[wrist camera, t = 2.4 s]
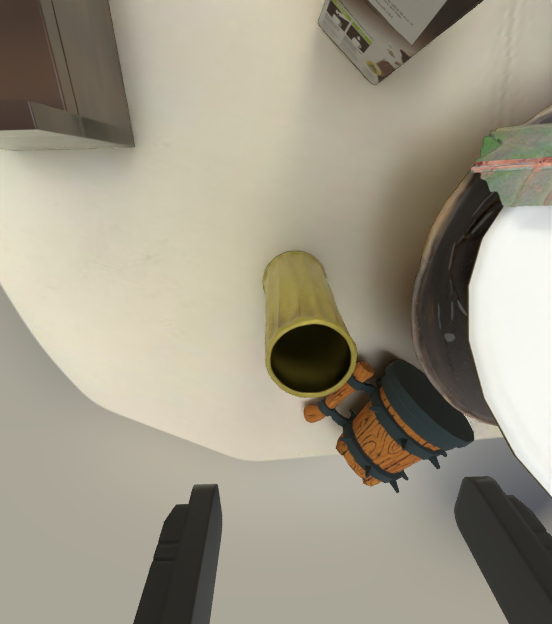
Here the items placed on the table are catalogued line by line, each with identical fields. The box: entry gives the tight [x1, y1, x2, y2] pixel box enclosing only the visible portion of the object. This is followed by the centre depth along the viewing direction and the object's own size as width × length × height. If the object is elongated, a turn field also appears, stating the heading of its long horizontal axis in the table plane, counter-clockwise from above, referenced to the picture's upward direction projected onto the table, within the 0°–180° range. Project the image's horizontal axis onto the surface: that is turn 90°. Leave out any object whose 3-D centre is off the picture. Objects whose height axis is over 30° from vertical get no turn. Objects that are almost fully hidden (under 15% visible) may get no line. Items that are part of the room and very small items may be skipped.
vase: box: [263, 251, 357, 398], centre depth 24 cm, size 6×6×14 cm
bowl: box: [411, 104, 552, 426], centre depth 26 cm, size 25×25×10 cm
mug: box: [304, 360, 474, 493], centre depth 33 cm, size 13×10×12 cm
